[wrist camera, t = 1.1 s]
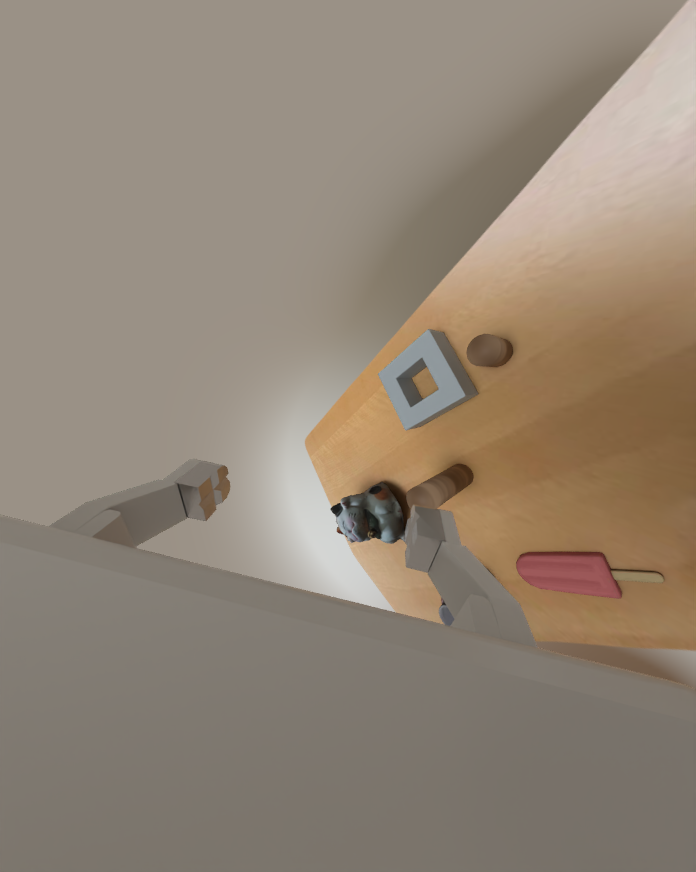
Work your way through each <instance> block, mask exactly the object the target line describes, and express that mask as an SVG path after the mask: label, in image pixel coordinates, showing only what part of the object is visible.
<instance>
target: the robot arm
mask: <svg viewBox="0 0 696 872" xmlns="http://www.w3.org/2000/svg"><path fill="white" fill-rule="evenodd" d="M227 474H228V469H227V467H226V466H223V465H219V464H215V463H211V462H207V461H201V460H197V459H191V460H188V461H187V462H186V463H184V464H183V465H182V466H181V467H179V468H178V469H176V470H175V471H174V472H173V473H171V474H170V475H168V476H167V477H166V478H164V479H163V480H156V481H153V482H150V483H146V484H143V485H141V486H137V487H134V488H131V489H127V490H124V491H121V492H118V493H115V494H112V495H108V496H105V497H102V498H99V499H96V500H93V501H89V502H86V503H84V504H83V505H81V506H80V507H78V508H76V509H75V510H74V511H72V512H70V513H69V514H67V515H66V516H64V517H62V518H61V519H59V520H58V521H56V522H55V523H53V524H52V525H50V526H44V525H40V524H36V523H32V522H28V521H24V520H20V519H16V518H12V517H8V516H4V515H0V872H696V689H694V688H692V687H690V686H687V685H684V684H680V683H677V682H673V681H670V680H666V679H662V678H658V677H654V676H650V675H646V674H642V673H638V672H634V671H630V670H626V669H622V668H617V667H613V666H609V665H605V664H601V663H597V662H593V661H589V660H585V659H581V658H577V657H573V656H569V655H565V654H561V653H556V652H553V651H548V650H544V649H541V648H538V647H537V645H536V642H535V640H534V637H533V635H532V632H531V630H530V628H529V625H528V623H527V620H526V618H525V615H524V613H523V610H522V608H521V606H520V604H519V603H518V602H517V601H516V600H515V599H514V598H513V596H512V595H511V594H510V593H509V592H508V591H507V590H506V589H505V588H504V587H503V586H502V585H501V584H500V583H499V581H498V580H497V579H496V578H495V577H494V576H493V575H492V574H491V573H490V572H489V571H488V570H487V569H486V568H485V567H484V565H483V564H482V563H481V562H480V561H479V560H478V559H477V558H476V557H475V556H474V555H473V554H472V553H471V552H470V551H469V549H468V548H467V547H466V546H462V545H461V542H460V538H459V534H458V531H457V527H456V523H455V520H454V516H453V513H452V512H451V511H446V510H441V509H434V508H429V507H424V506H419V505H414V504H413V506H412V508H411V511H410V512H411V518H409V519H408V521H407V524H406V529H405V543H406V544H407V548H406V551H405V557H406V567H407V568H411V569H415V570H419V571H423V572H427V573H428V575H429V577H430V579H431V580H432V582H433V584H434V585H435V587H436V589H437V590H438V592H439V594H440V595H441V597H442V599H443V600H444V602H445V604H446V606H447V607H448V609H449V611H450V612H451V614H452V616H453V617H454V621H453V622H452V624H451V626H448V625H444V624H440V623H436V622H432V621H428V620H424V619H420V618H416V617H412V616H408V615H404V614H399V613H395V612H391V611H387V610H383V609H379V608H375V607H371V606H367V605H363V604H359V603H355V602H351V601H347V600H343V599H338V598H335V597H331V596H327V595H323V594H319V593H314V592H310V591H306V590H302V589H298V588H294V587H290V586H286V585H282V584H278V583H274V582H270V581H265V580H262V579H258V578H254V577H249V576H246V575H242V574H238V573H234V572H230V571H226V570H222V569H218V568H214V567H209V566H206V565H202V564H198V563H193V562H190V561H186V560H182V559H177V558H173V557H169V556H165V555H161V554H157V553H153V552H149V551H145V550H141V549H137V548H136V546H138V545H139V544H141V543H143V542H145V541H146V540H149V539H150V538H152V537H154V536H156V535H158V534H159V533H161V532H163V531H165V530H167V529H169V528H170V527H172V526H174V525H176V524H177V523H179V522H181V521H183V520H185V519H187V517H188V518H192V519H197V520H203V521H207V519H208V518H209V517H210V516H211V515H212V514H213V513H214V511H215V510H216V505H217V504H220V503H222V502H223V501H224V500H225V499H226V498H227V495H228V493H229V491H230V482H229V480H228V479H227V478H226V476H227Z"/></svg>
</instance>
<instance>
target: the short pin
mask: <svg viewBox="0 0 696 872" xmlns="http://www.w3.org/2000/svg"><path fill="white" fill-rule="evenodd" d="M512 353H513V347H512V345H511V343H510V342H509V341H508V340H506V339H503V338H499V337H496V336H493V335H490V334H482V335H479V336H477V337H475V338H474V339H473V340H472V341H471V342H470V344H469V346H468V348H467V357H468V360H469V361H470V362H471V363H472V364H474V365H477V366H488V367H499V366H502V365H504V364H505V363H507V362H508V361H509V359H510V358H511V356H512Z"/></svg>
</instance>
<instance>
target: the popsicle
mask: <svg viewBox="0 0 696 872" xmlns="http://www.w3.org/2000/svg"><path fill="white" fill-rule="evenodd" d="M516 566H517V570H518V573H519V574H520V576H521V577H522V578H523V579H524V580H525V581H526V582H528V583H529V584H530V585H533V586H535V587H538V588H540V589H546V590H554V591H561V592H569V593H576V594H584V595H592V596H601V597H610V598H618V599H619V598H621V597H622V592H621V590H620V588H619V586H618V583H617V581H616V580H624V581H638V582H651V583H663V582H664V578H663V576H662V575H661V574H659V573H657V572H641V571H622V570H611V569H610V566H609V564H608V562H607V560H606V558H605V556H604V554H603V553H601V552H527V553H525V554H522V555H521V556H520V557H519V559H518V561H517V562H516Z"/></svg>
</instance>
